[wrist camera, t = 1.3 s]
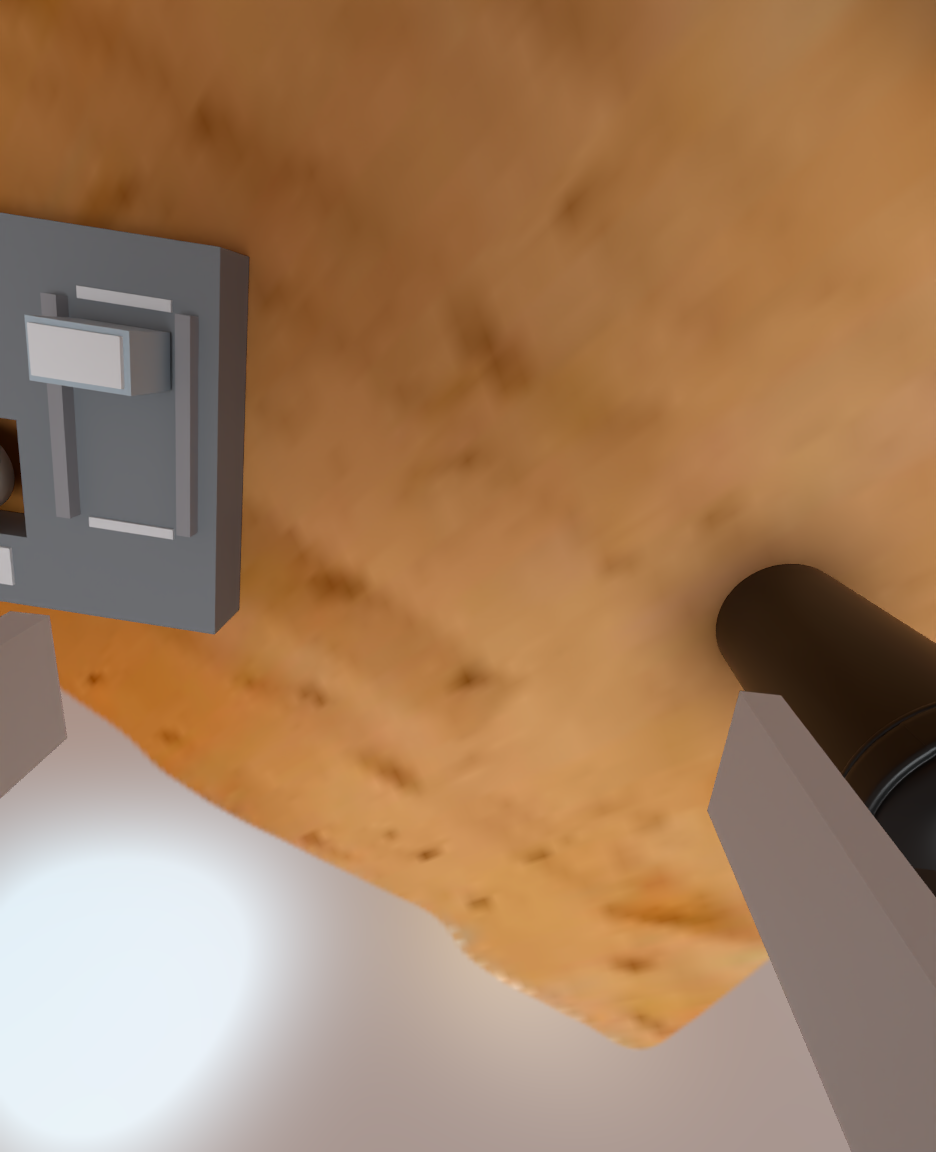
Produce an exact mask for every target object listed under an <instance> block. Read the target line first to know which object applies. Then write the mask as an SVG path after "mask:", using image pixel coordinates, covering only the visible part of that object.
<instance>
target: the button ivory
mask: <svg viewBox="0 0 936 1152" xmlns="http://www.w3.org/2000/svg"><path fill="white" fill-rule="evenodd" d="M14 481H15V478H14V470H13V466H12V463H11V461H10V459H9V457H8V455H7V453H6V452H5V450H4V449H3V448H2V447H1V445H0V506H1V505H2V504H4V503H5V502H6V501H7V500H8V499H9V497H10V496H11V493H12V491H13V488H14Z"/></svg>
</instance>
